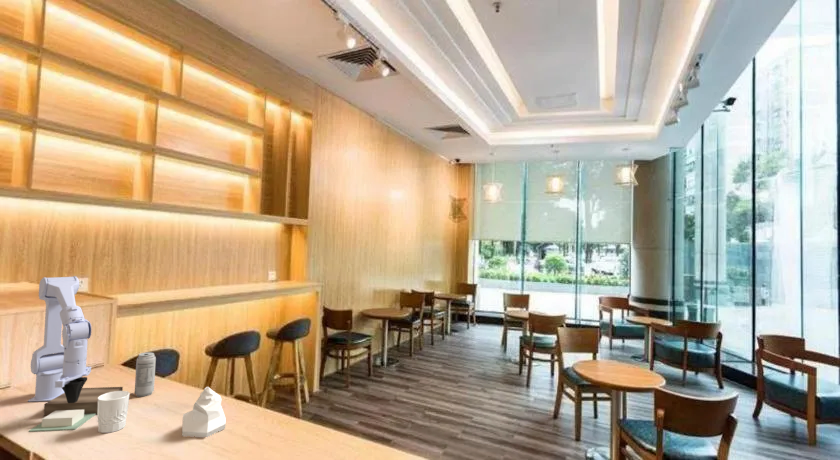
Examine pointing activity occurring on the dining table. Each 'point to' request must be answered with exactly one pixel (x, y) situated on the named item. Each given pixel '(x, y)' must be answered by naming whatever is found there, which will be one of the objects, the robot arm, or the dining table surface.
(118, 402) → the white cup
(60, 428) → the mat
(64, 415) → the tile
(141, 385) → the energy drink can
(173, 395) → the dining table surface
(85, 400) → the brown flat block
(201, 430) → the white faceted lump
